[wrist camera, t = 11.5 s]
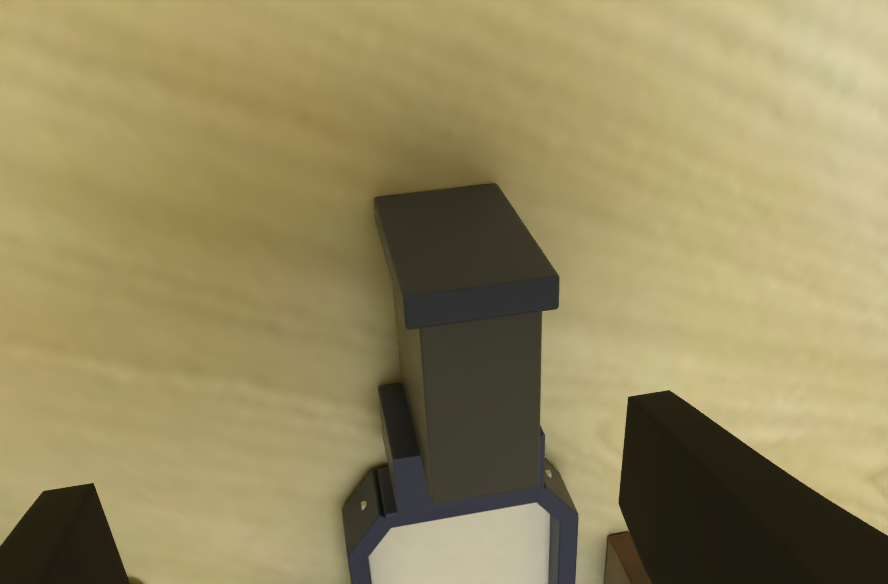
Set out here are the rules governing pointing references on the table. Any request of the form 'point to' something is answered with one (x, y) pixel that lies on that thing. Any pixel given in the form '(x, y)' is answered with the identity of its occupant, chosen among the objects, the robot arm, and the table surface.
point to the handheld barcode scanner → (463, 405)
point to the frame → (624, 562)
